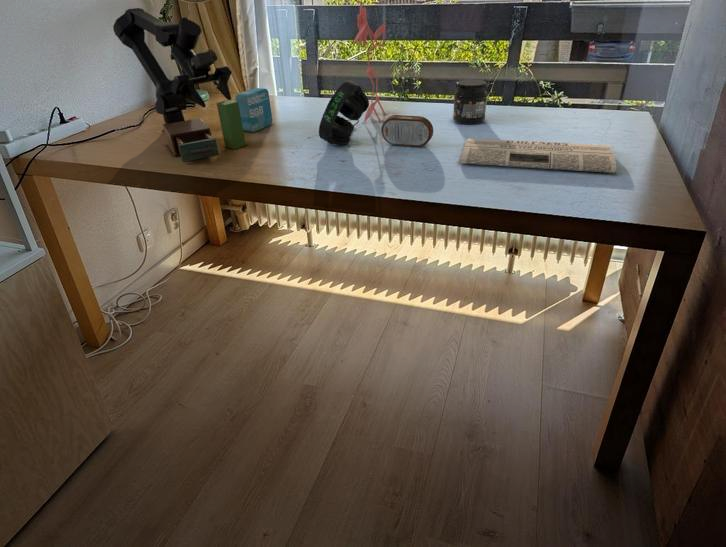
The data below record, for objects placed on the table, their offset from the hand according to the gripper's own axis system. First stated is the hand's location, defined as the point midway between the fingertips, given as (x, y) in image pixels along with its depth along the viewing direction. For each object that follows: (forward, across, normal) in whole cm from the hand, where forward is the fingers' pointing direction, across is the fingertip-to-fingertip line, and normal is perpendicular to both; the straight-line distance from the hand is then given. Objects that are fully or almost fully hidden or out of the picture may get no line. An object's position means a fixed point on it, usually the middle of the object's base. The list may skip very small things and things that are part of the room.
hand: (218, 103), depth 147 cm
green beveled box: (+12, 0, +5) cm, 13 cm away
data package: (+5, +16, +12) cm, 21 cm away
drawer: (+11, -13, +5) cm, 18 cm away
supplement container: (+45, +60, -27) cm, 80 cm away
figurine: (+22, +45, -4) cm, 50 cm away
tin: (+44, +28, -26) cm, 58 cm away
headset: (+29, +21, -12) cm, 38 cm away
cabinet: (+4, -8, +13) cm, 16 cm away
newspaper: (+68, +38, -50) cm, 93 cm away
